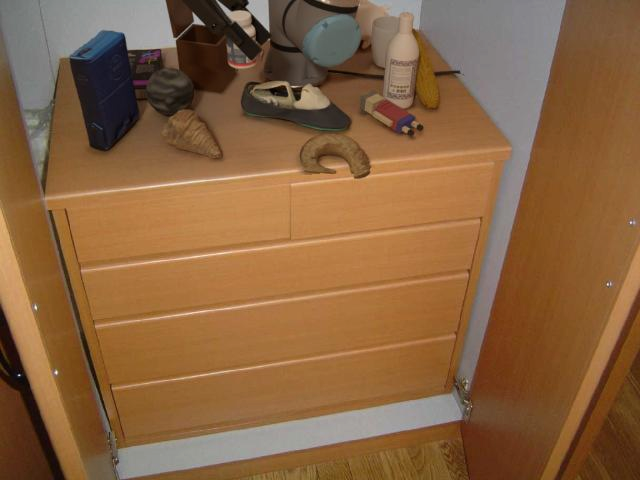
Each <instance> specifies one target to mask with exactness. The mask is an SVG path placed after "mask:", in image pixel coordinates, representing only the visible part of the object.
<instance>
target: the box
mask: <svg viewBox="0 0 640 480" xmlns="http://www.w3.org/2000/svg"><path fill="white" fill-rule="evenodd" d="M127 50H128V56H129V62H130V67H131V72H132V77H133V83H134V88H135V93H136V97H137V100H148V99H147V94H146V86H147V83H148V80H149V78H150V77H151V76H152V74H154V73H155V72H156V71H158V70H160V69H162V65H163V57H162V49H161V48H152V49H127Z"/></svg>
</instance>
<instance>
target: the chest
mask: <svg viewBox="0 0 640 480" xmlns="http://www.w3.org/2000/svg"><path fill="white" fill-rule="evenodd" d="M175 48H176V54H177V62H178V69H179V70H181V71H183V72H184V73H185V74H186V75H187V76H188V77H189V78H190V79H191V81H192V84H193V86H194V90H198V91H206V92H213V93H217V94H222V93H223V91H225V90H226V88H227V87H228V86H229V84H230V83H231V82H232V81H233V79H234V78H235V77H236V76H237V68H233V67H231V66H230V65H229V63H228V56H227V43H226V35H225V34H224V33H222V34H221V35H220V36H218V35H215V34H213V33H212V32H211V31H210V30H209V29H208V28H207V27H206V26H205V25H204V24H199V23H192V24H191V25H190V26H189V27H188V28H187V29H186V30H185V31H184V32H183V33H182V34H181V35H180V36H179V37H178V38H176V39H175Z"/></svg>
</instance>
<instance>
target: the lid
mask: <svg viewBox="0 0 640 480" xmlns="http://www.w3.org/2000/svg"><path fill="white" fill-rule="evenodd" d="M165 4H166V9H167V13H168V18H169V23H170V27H171V34H172V37H173V39H178V38H179V37H180V36H181V35H182V34H183V33H184V32H185V31H186V30H187V29H188V28H189V27H190V26H191V25H192V24H194V22H195V18H194V13H193V12H192V11H191V10H190V9H189V8H188V7H187V5H186V4H185V3H184V2H183V1H182V0H165Z"/></svg>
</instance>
